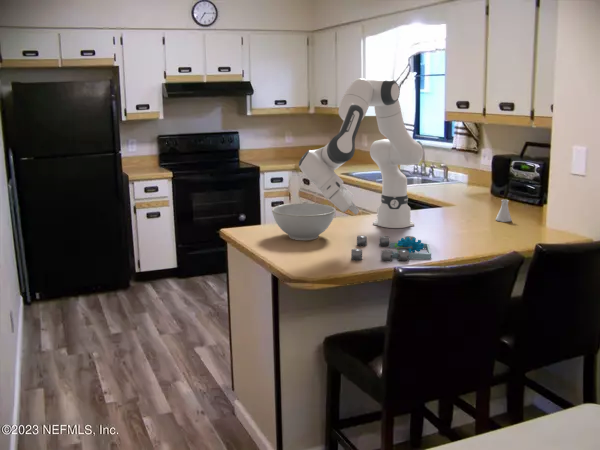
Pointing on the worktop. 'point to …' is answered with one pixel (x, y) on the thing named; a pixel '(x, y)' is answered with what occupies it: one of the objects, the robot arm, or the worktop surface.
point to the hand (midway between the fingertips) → (357, 212)
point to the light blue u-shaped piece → (414, 255)
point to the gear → (409, 245)
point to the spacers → (385, 254)
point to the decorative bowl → (303, 219)
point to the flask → (504, 212)
